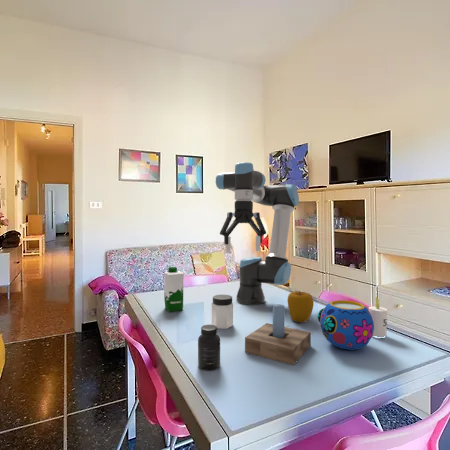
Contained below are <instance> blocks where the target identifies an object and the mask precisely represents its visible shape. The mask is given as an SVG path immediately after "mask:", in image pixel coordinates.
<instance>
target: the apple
mask: <svg viewBox="0 0 450 450" xmlns="http://www.w3.org/2000/svg"><path fill="white" fill-rule="evenodd" d="M287 307H288V312H289V315H290V318H291V320H292V321H294V322H297V323H305V322H307V321H308V320H309V319H310V317H311V315H312V312H313V310H314V298H313V295H312V294H310V293H308V292H305V291H300V290H299V291H295V290H294V291H291V292H290V293H288V296H287Z"/></svg>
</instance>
